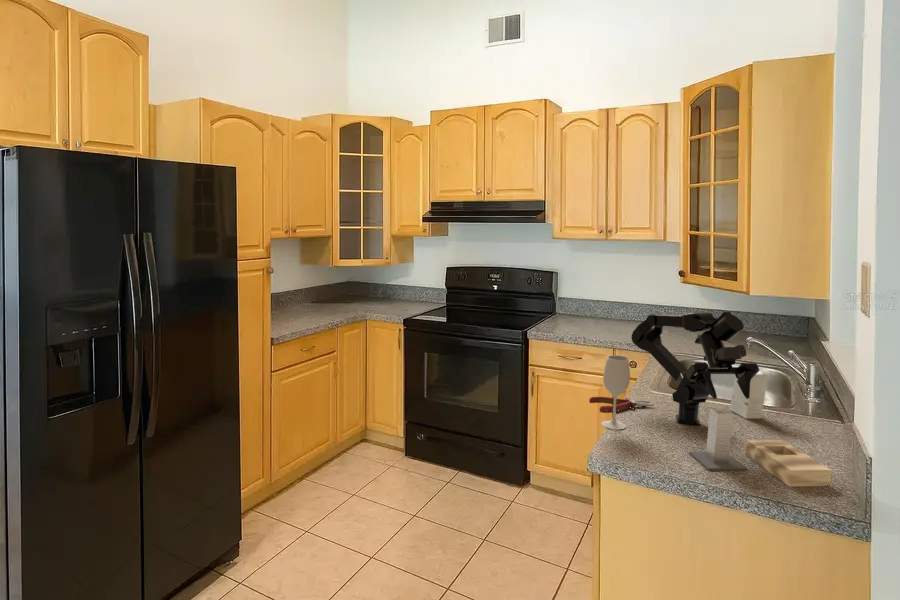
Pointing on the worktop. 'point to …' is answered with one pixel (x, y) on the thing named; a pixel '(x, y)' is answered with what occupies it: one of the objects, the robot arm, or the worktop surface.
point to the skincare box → (756, 399)
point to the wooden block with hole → (788, 463)
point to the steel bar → (719, 435)
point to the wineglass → (616, 384)
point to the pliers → (617, 404)
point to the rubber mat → (710, 465)
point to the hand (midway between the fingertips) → (731, 398)
